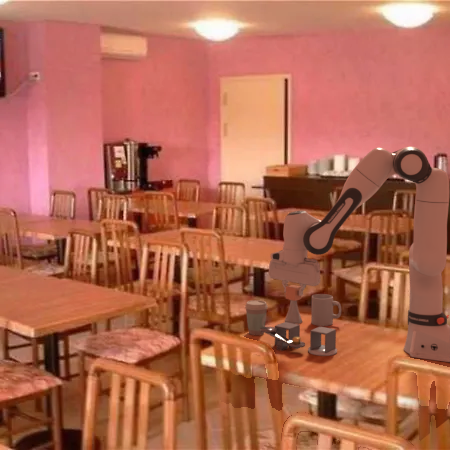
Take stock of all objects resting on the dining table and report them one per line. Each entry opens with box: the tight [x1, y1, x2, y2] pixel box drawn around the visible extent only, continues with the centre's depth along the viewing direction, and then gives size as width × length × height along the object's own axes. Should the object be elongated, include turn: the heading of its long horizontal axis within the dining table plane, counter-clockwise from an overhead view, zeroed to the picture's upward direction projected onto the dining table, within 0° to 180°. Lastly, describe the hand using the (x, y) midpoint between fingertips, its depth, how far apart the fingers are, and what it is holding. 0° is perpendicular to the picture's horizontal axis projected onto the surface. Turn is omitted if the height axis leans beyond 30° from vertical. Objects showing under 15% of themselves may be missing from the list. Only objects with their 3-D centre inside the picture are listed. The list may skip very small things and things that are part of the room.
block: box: [285, 284, 302, 301], centre depth 275 cm, size 4×4×4 cm
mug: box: [310, 293, 342, 327], centre depth 305 cm, size 12×8×11 cm
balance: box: [260, 326, 306, 352], centre depth 273 cm, size 18×6×6 cm, turn 51°
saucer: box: [307, 344, 338, 357], centre depth 269 cm, size 10×10×1 cm
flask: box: [284, 300, 303, 325], centre depth 308 cm, size 7×7×10 cm
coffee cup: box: [244, 299, 269, 336], centre depth 292 cm, size 8×9×12 cm
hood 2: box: [309, 326, 337, 353], centre depth 269 cm, size 6×6×7 cm
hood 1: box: [274, 321, 301, 349], centre depth 278 cm, size 6×6×7 cm
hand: (293, 294), depth 275 cm, fingers closed on block, 4 cm apart
